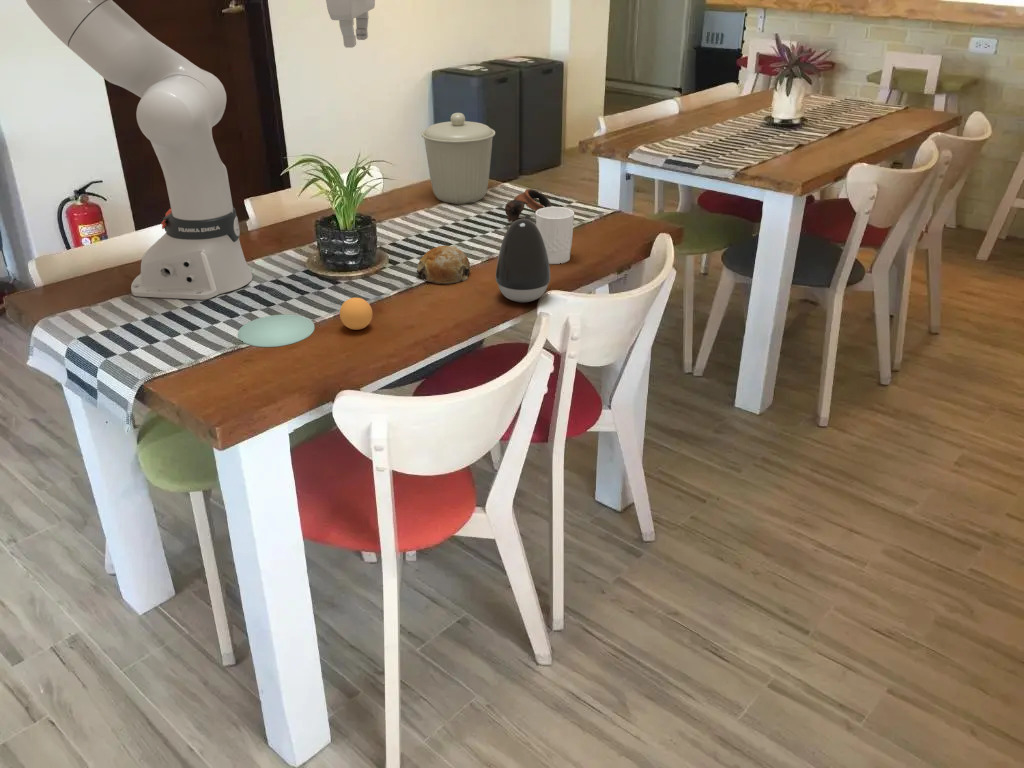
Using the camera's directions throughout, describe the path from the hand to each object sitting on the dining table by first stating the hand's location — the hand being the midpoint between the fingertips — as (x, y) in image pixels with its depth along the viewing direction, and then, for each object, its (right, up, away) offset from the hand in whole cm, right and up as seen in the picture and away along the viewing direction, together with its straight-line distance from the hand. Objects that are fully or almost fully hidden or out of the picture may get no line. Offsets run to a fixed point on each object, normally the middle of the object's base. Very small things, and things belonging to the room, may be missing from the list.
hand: (356, 43), depth 152 cm
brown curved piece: (+30, -21, +54) cm, 66 cm away
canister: (+14, -12, +71) cm, 73 cm away
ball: (0, -47, +1) cm, 47 cm away
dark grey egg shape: (+29, -43, +14) cm, 54 cm away
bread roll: (+13, -38, +24) cm, 47 cm away
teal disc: (-14, -50, +1) cm, 52 cm away
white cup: (+36, -33, +32) cm, 58 cm away
